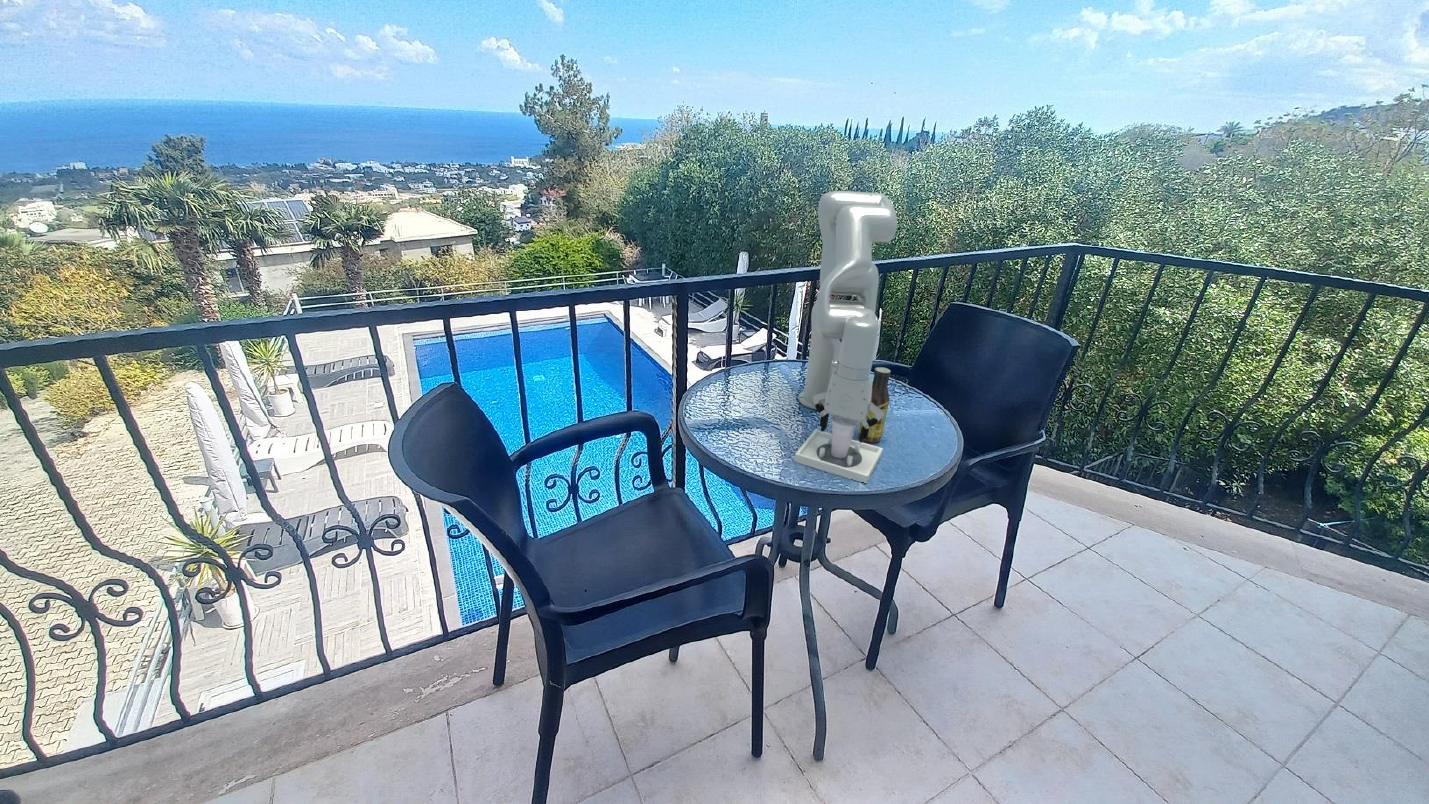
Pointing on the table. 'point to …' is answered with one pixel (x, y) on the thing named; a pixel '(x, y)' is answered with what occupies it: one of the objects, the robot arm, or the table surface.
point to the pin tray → (852, 466)
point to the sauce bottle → (878, 403)
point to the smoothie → (842, 435)
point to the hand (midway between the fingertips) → (842, 434)
